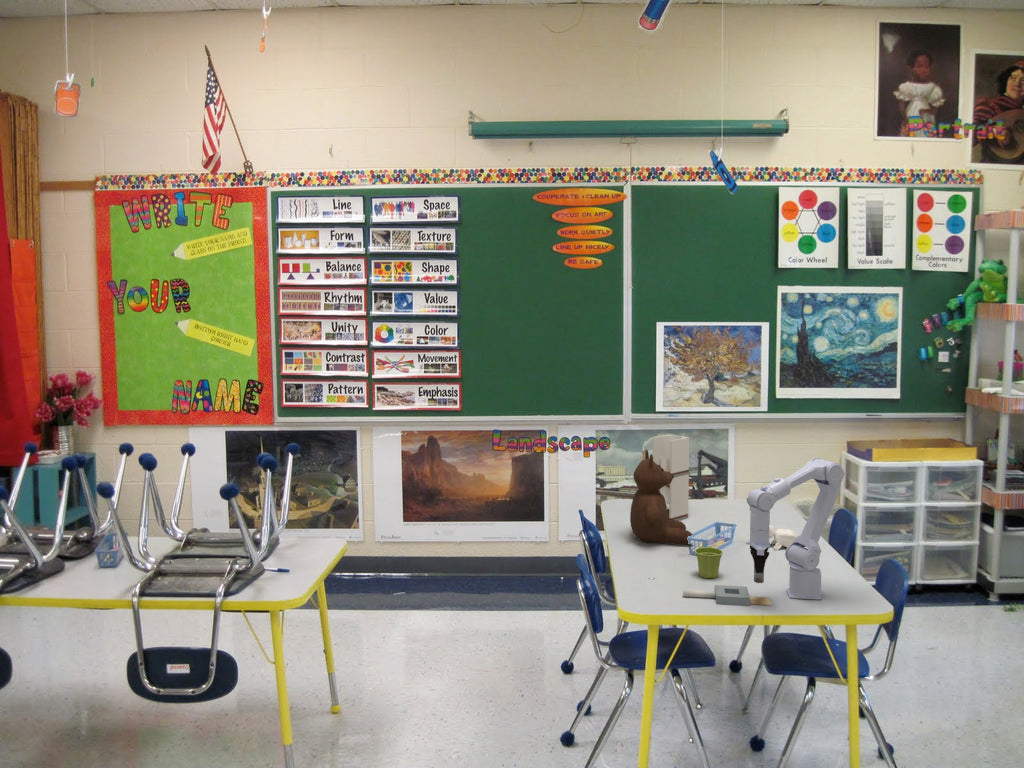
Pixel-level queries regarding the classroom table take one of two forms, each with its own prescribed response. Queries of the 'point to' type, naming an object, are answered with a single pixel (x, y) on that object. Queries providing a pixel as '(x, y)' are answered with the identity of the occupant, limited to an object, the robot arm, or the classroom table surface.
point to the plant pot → (708, 561)
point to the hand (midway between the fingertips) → (759, 570)
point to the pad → (760, 601)
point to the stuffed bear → (654, 507)
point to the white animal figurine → (781, 537)
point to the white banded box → (674, 472)
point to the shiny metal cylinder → (758, 577)
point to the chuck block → (723, 595)
